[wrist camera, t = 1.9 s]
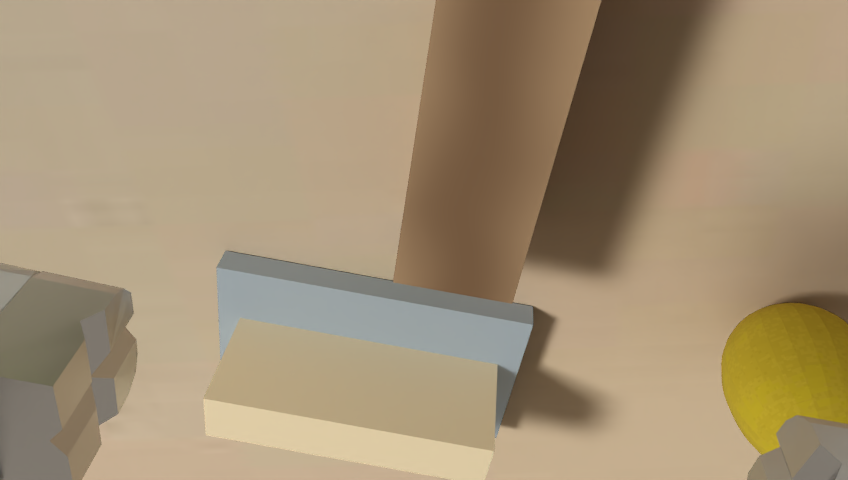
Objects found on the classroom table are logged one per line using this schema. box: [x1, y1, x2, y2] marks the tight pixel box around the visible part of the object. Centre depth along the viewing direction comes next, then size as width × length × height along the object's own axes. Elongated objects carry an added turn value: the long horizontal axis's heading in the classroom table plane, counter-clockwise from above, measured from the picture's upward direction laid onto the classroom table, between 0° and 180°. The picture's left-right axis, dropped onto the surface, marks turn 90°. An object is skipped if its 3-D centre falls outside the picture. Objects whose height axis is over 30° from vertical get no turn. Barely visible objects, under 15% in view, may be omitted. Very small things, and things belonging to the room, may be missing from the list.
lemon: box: [721, 303, 848, 455], centre depth 28 cm, size 6×6×8 cm
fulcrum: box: [203, 251, 533, 480], centre depth 32 cm, size 14×8×6 cm, turn 82°
